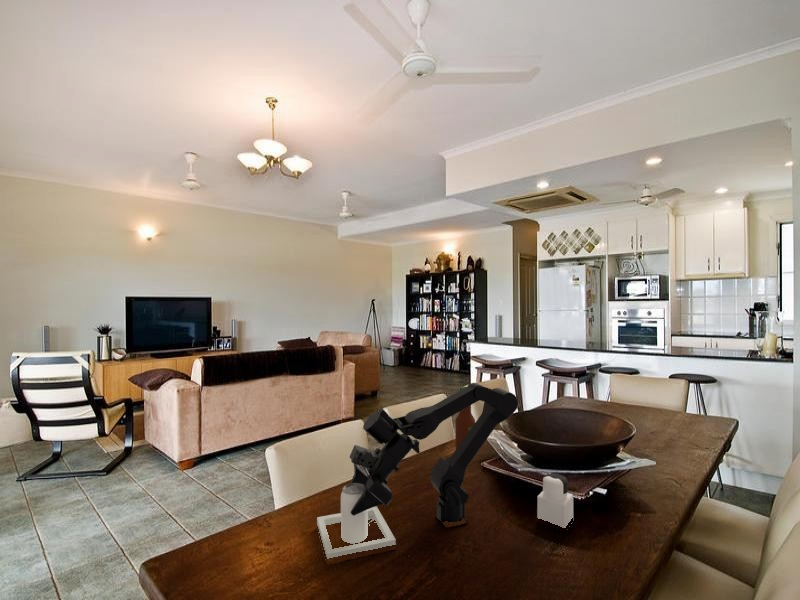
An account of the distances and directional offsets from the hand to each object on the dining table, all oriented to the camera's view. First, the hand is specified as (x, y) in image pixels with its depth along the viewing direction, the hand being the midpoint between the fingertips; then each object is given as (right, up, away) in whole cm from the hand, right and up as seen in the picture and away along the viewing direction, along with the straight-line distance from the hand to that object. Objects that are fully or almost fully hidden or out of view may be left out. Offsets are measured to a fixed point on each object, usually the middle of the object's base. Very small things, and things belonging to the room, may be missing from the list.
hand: (348, 505), depth 100 cm
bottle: (+37, -8, +53) cm, 65 cm away
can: (+2, -8, -1) cm, 8 cm away
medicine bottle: (+53, -8, +7) cm, 54 cm away
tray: (+1, -8, +1) cm, 8 cm away
